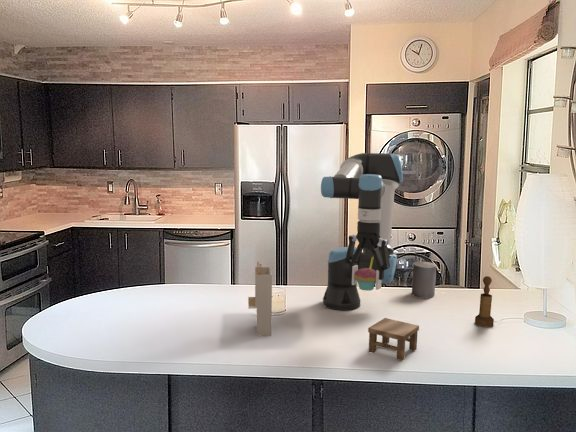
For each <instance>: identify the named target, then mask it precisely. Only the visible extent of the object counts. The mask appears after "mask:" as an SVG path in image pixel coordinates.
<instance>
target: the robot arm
mask: <svg viewBox="0 0 576 432" xmlns="http://www.w3.org/2000/svg"><path fill="white" fill-rule="evenodd" d="M402 162H403V161H402V157H401V155H400V154H397V153H390V152H389V153H384V152H383V153H382V152H381V153H378V152H377V153H374V152H362V153H358V154H355V155H352V156H350V157H347V158H346V159H345V160H344V161H343V162H342V163H341V164H340V167H339V169H338V171H337V172H336V173H335V174H334V175H333V176H332V175H331V176H323V177H322V179H321V182H320V193H321V196H322V197H323V198H329V199H350V200H358V203H357V204H358V206H357V207H358V208H357V220H358V221H357V223H356V225H357V226H356V229H357V233H356V235H355V234H352V235H348V246H344V247H336V248H334V249H331V250H330V251H329V253H328V260H327V263H328V264H327V286H326V289H325V292H324V295H323V297H322V305H323V306H324V307H325V308H328V309H331V310H337V311H349V310H350V311H353V310H356V309H358V308H360V307H361V297H360V293H359V290H358V281H357V280H356V279H355V278H354V274H355V272H356V271H357V270H359V269H363V268H370V263H371V259H372V257H374V259H373V263H372V268H371V269H373V270H375V271H376V283H375V290H376V291H378V290H380V289H382V284H390V283H391V282H393V280H394V279H393V278H394V276H395V273H396V269H397V268H396V267H397V261H398V256H397V254H396V253H394V251H395V250H394V248H392V246H391V240H392V228H393V217H394V216H393V214H394V203H395V191H396V189H398V188H399V187H400V183H403V181H404V180H403V179H404V177H403V176H404V175H403V163H402ZM356 241H357V242H358V245H357V247H355V246H356ZM373 255H374V256H373Z"/></svg>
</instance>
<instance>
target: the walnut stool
mask: <svg viewBox="0 0 576 432" xmlns="http://www.w3.org/2000/svg"><path fill="white" fill-rule="evenodd" d="M418 331H420V325H418V324H415V323H414V324H413V323H409V322H404V321H400V320H396V319H391V318H388V317H384V318H382V319H380V320H378V321H377V322H376V323H374V324H372V325H371V326H369V327H368V328H367V333H369V334H368V353H370V354H371V353H372V354H374V353H376V352H377V347H380V348H383V349H388V350H391V351H395V352H396V360H397V361H403V360H405V354H406V353H405V352H406V342H407V343H408V342H409V345H408V350H409V351H413V352H416V350H417V349H418V347H417V346H418ZM378 336H381V337H382V338H381V342H380V341H377V340H378ZM390 339H393V340H397V341H396V345H392V344H389V343H390Z"/></svg>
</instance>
